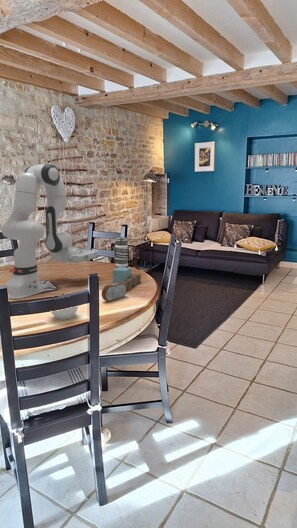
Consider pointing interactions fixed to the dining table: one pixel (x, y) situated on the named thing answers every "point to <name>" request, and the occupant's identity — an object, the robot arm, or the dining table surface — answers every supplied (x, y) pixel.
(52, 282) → the dining table surface
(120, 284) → the oval wooden speaker
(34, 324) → the dining table surface
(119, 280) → the slate block
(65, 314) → the lidded bowl
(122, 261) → the decorative candle
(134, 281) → the walnut board
